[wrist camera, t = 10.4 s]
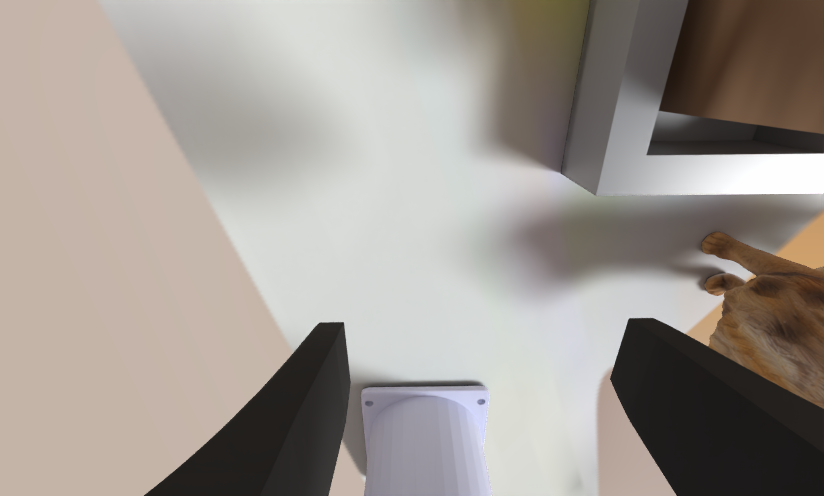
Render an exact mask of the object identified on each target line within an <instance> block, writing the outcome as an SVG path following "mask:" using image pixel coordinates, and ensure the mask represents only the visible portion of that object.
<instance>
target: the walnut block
mask: <svg viewBox="0 0 824 496" xmlns="http://www.w3.org/2000/svg"><path fill="white" fill-rule="evenodd" d="M659 111H662V112H669V113H676V114H684V115H691V116H698V117H705V118H712V119H720V120H727V121H734V122H741V123H748V124H756V125H763V126H770V127H777V128H784V129H792V130H799V131H806V132H813V133H820V134H824V0H689V1H688V4H687V8H686V12H685V15H684V19H683V23H682V26H681V30H680V34H679V37H678V41H677V45H676V48H675V52H674V56H673V59H672V63H671V67H670V70H669V74H668V78H667V81H666V85H665V89H664V92H663V96H662V100H661V103H660V107H659Z"/></svg>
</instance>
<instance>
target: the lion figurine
mask: <svg viewBox="0 0 824 496" xmlns="http://www.w3.org/2000/svg"><path fill="white" fill-rule="evenodd" d="M702 251H703V252H704V253H706V254H713V255H715V256H717V257H719V258H722V259H727V260H732V261H735V262H737V263H739V264H740V265H741V266H743V267H744V268H745V269H747V270H748V271H750V272H752V273H753V274H755V275H756V276H757V277H756V278H754V279H751V280H749V281H748V282H746V281H744V280H743V279H741V278H739V277H738V276H736V275H733V274H729V273H724V274H717V275H714V276H712V277H710V278H708V279H707V281H706V283H705V285H704V286H705V288H706V289H707V292H708V293H709V294H712V295H716V296H719V295H722V294H723V293H724V298H725V299H724V301H723V305H722V308H723V311H722V316H723V317H722V318H721V319H720V320H719V321H718V323H717V327H716V330H715V332H714V333H713V334H712V335H711V336H710V344H709V346H708V347H709V348H711V349H713V350H715V351H717V352H718V353H720V354H722V355H724V356H726V357H727V358H729V359H731V360H733V361H735V362H736V363H738V364H740V365H742V366H744V367H746V368H747V369H749V370H751V371H753V372H755V373H756V374H758V375H760V376H762V377H764V378H766V379H768V380H769V381H771V382H773V383H775V384H777V385H779V386H781V387H783V388H784V389H786V390H788V391H790V392H792V393H794V394H796V395H798V396H800V397H802V398H804V399H806V400H808V401H810V402H812V403H814V404H816V405H817V406H819V407H821V408H823V409H824V267H820V268H816V269H811V268H809V267H807V266H804V265H801V264H798V263H795V262H791V261H789V260H786V259H783V258H780V257H777V256H774V255H772V254H770V253H767V252H764V251H761V250H758V249H755V248H753V247H750V246H748V245H746V244H744V243H741V242H739V241H737V240H735V239H733V238H731V237H730V236H728V235H726V234H724V233H721V232H714V233H711V234H710V235H708V236H707V237H706V238H705V239H704V240H703V242H702Z"/></svg>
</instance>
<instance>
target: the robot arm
mask: <svg viewBox="0 0 824 496" xmlns="http://www.w3.org/2000/svg"><path fill="white" fill-rule="evenodd" d="M610 380H611V382H612V384H613V387H614V389H615V391H616V393H617V396H618V398H619V400H620V402H621V404H622V406H623V408H624V410H625V412H626V414H627V416H628V418H629V420H630V422H631V423H632V425H633V427H634V428H635V430H636V431H637V433H638V435H639V436H640V438H641V439H642V441H643V443H644V444H645V446H646V448H647V449H648V451H649V453H650V454H651V456H652V457H653V459H654V460H655V462H656V464H657V465H658V467H659V468H660V470H661V471H662V473H663V475H664V476H665V478H666V479H667V481H668V483H669V484H670V486H671V487H672V489H673V490H674V492H675V493H676V495H677V496H824V409H823V408H821V407H819V406H817V405H816V404H814V403H812V402H810V401H808V400H806V399H804V398H802V397H800V396H798V395H796V394H794V393H792V392H790V391H788V390H786V389H784V388H783V387H781V386H779V385H777V384H775V383H773V382H771V381H769V380H768V379H766V378H764V377H762V376H760V375H758V374H756V373H755V372H753V371H751V370H749V369H747V368H746V367H744V366H742V365H740V364H738V363H736V362H735V361H733V360H731V359H729V358H727V357H726V356H724V355H722V354H720V353H718V352H717V351H715V350H713V349H711V348H709V347H708V346H706V345H704V344H702V343H700V342H699V341H697V340H695V339H693V338H691V337H689V336H688V335H686V334H684V333H682V332H680V331H678V330H676V329H674V328H673V327H671V326H669V325H667V324H665V323H663V322H660V321H658V320H656V319H654V318H629V320H628V323H627V326H626V330H625V333H624V336H623V339H622V342H621V346H620V349H619V352H618V355H617V358H616V361H615V365H614V368H613V371H612V374H611V378H610ZM350 383H351V382H350V373H349V364H348V355H347V346H346V338H345V329H344V322H330V323H319V324H318V325H317V326H316V327H315V328H314V329H313V330H312V331H311V333H310V334H309V335H308V336H307V337H306V339H305V340H304V341H303V342H302V343H301V345H300V346H299V347H298V348H297V349H296V351H295V352H294V353H293V354H292V355H291V356H290V358H289V359H288V360H287V361H286V362H285V363H284V364H283V366H282V367H281V368H280V369H279V370H278V371H277V372H276V373H275V374H274V376H273V377H272V378H271V379H270V380H269V381H268V382H267V383H266V384H265V386H264V387H263V388H262V389H261V390H260V391H259V392H258V393H257V394H256V395H255V396H254V397H253V398H252V399H251V400H250V401H249V402H248V403H247V404H246V405H245V406H244V407H243V408H242V409H241V410H240V411H239V412H238V413H237V414H236V415H235V416H234V417H233V418H232V419H231V420H230V421H229V422H228V423H227V424H226V425H225V426H224V427H223V428H222V429H221V430H220V431H219V432H218V433H217V434H216V435H215V436H213V437H212V438H211V439H210V440H209V441H208V442H207V443H206V444H205V445H204V446H203V447H201V448H200V449H199V450H198V451H197V452H196V453H195V454H194V455H192V456H191V457H190V458H189V459H188V460H187V461H186V462H184V463H183V464H182V465H181V466H180V467H179V468H177V469H176V470H175V471H174V472H173V473H171V474H170V475H169V476H168V477H167V478H165V479H164V480H163V481H162V482H160V483H159V484H158V485H157V486H156V487H154V488H153V489H152V490H150V491H149V492H148V493H147V494H145V495H144V496H328V495H329V491H330V487H331V482H332V478H333V474H334V470H335V466H336V461H337V457H338V453H339V449H340V444H341V440H342V436H343V432H344V427H345V423H346V416H347V408H348V400H349V392H350ZM489 397H490V394H489V390H488V388H487V387H485V386H435V387H369V388H365V389H363V390H362V393H361V405H362V415H363V425H364V435H365V446H366V456H367V472H366V482H365V492H364V496H493V493H492V488H491V483H490V478H489V474H488V469H487V464H486V459H485V454H484V449H483V447H484V439H485V431H486V422H487V414H488V406H489ZM479 399H481V400H479Z"/></svg>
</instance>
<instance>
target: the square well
mask: <svg viewBox="0 0 824 496" xmlns="http://www.w3.org/2000/svg"><path fill="white" fill-rule="evenodd" d="M688 1H689V0H591V1H590V7H589V13H588V18H587V24H586V30H585V36H584V41H583V47H582V53H581V59H580V64H579V70H578V76H577V82H576V87H575V93H574V99H573V105H572V110H571V116H570V122H569V128H568V133H567V139H566V145H565V151H564V156H563V162H562V168H561V174H562V175H564V176H566V177H567V178H569V179H570V180H572V181H573V182H575V183H577V184H578V185H580V186H581V187H583V188H584V189H586V190H588V191H589V192H591V193H592V194H594V195H596V196H630V195H720V194H809V193H824V134H820V133H813V132H806V131H799V130H792V129H784V128H777V127H770V126H763V125H756V124H748V123H741V122H734V121H727V120H720V119H712V118H705V117H698V116H691V115H684V114H676V113H669V112H662V111H659V107H660V103H661V100H662V96H663V92H664V89H665V85H666V81H667V78H668V74H669V70H670V67H671V63H672V59H673V56H674V52H675V48H676V45H677V41H678V37H679V34H680V30H681V26H682V23H683V19H684V15H685V12H686V8H687V4H688Z"/></svg>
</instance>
